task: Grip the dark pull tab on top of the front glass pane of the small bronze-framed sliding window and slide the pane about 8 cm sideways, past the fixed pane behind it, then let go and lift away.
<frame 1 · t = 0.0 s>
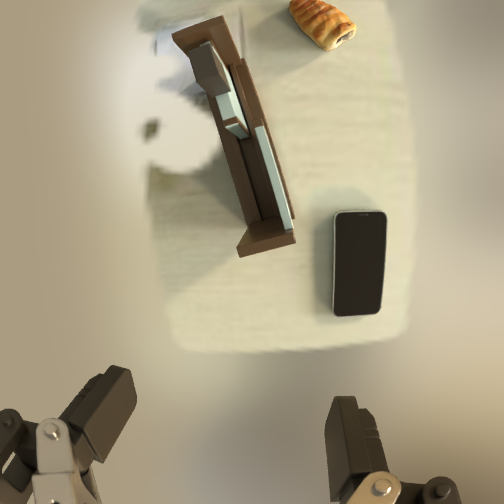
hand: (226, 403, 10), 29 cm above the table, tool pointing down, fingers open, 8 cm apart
window frame: (247, 141, 35), on the table
sash: (222, 88, 25), point 10 cm above the table, slide at 0.0 cm
pastry: (321, 27, 29), on the table
smartphone: (358, 264, 38), on the table
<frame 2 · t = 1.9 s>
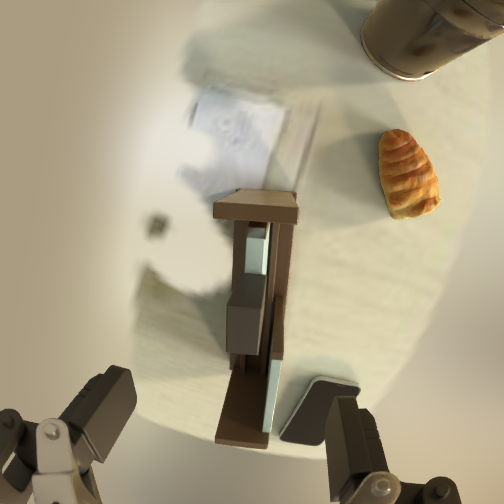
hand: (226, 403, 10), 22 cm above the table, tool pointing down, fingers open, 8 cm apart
window frame: (260, 289, 32), on the table
sash: (255, 280, 22), point 10 cm above the table, slide at 0.0 cm
pastry: (401, 178, 28), on the table
smartphone: (317, 412, 37), on the table
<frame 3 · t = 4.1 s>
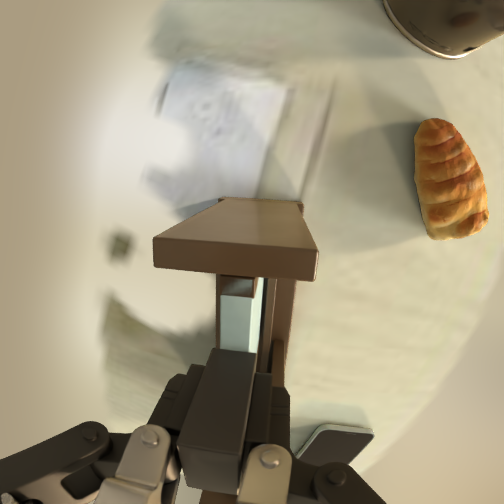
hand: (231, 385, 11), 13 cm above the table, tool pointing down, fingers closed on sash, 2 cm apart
window frame: (253, 329, 24), on the table
sash: (241, 345, 14), point 9 cm above the table, slide at 0.0 cm, touching gripper
pastry: (440, 184, 19), on the table
smartphone: (322, 457, 29), on the table
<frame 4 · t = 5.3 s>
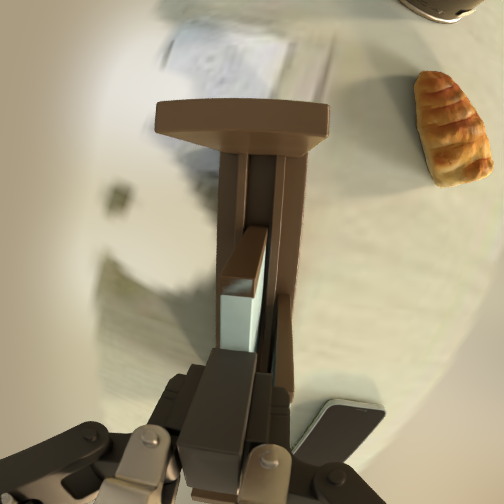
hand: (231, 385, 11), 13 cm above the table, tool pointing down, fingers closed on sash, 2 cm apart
window frame: (256, 285, 23), on the table
sash: (241, 345, 14), point 9 cm above the table, slide at 4.1 cm, touching gripper
pastry: (443, 136, 18), on the table
smartphone: (329, 440, 28), on the table
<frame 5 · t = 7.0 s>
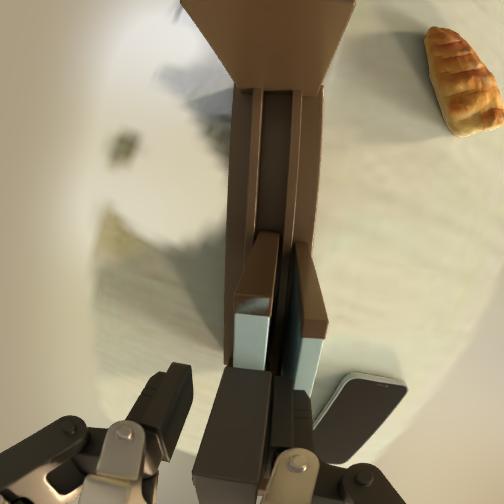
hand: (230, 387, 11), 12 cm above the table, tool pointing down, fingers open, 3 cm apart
window frame: (270, 236, 21), on the table
sash: (253, 359, 13), point 10 cm above the table, slide at 8.6 cm
pastry: (455, 90, 16), on the table
smartphone: (345, 422, 26), on the table
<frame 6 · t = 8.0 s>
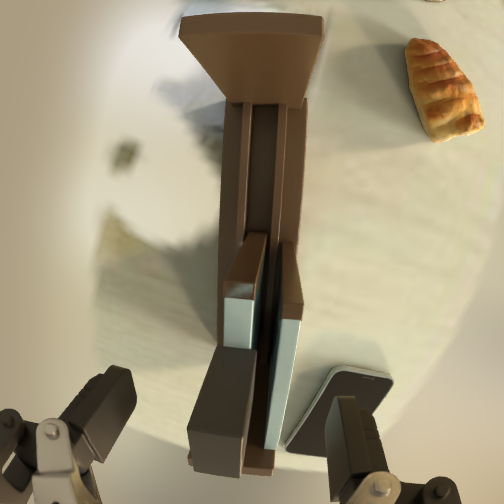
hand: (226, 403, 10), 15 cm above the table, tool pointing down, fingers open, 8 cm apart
window frame: (259, 236, 23), on the table
sash: (242, 343, 15), point 9 cm above the table, slide at 8.6 cm
pastry: (435, 98, 18), on the table
smartphone: (335, 415, 28), on the table
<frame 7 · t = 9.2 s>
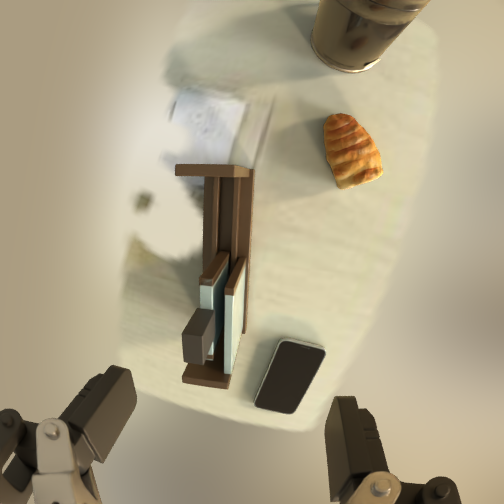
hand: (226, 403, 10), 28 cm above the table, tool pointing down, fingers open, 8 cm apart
window frame: (227, 253, 38), on the table
sash: (211, 311, 30), point 10 cm above the table, slide at 8.6 cm
pastry: (348, 155, 34), on the table
smartphone: (287, 377, 42), on the table
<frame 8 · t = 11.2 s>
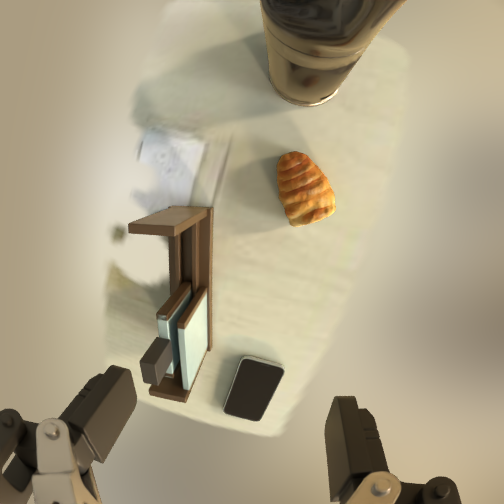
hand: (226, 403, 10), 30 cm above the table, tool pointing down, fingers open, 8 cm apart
window frame: (192, 281, 42), on the table
sash: (171, 337, 34), point 9 cm above the table, slide at 8.6 cm
pastry: (302, 192, 37), on the table
smartphone: (252, 389, 46), on the table
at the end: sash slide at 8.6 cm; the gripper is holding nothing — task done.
